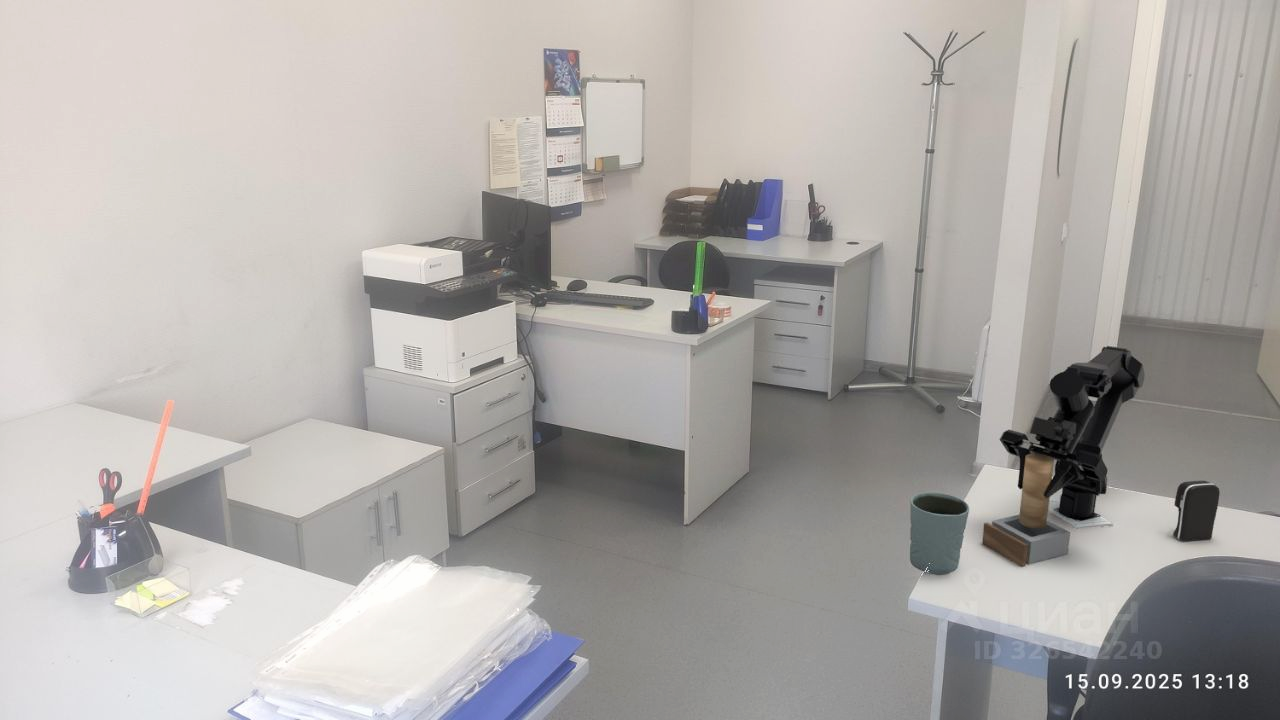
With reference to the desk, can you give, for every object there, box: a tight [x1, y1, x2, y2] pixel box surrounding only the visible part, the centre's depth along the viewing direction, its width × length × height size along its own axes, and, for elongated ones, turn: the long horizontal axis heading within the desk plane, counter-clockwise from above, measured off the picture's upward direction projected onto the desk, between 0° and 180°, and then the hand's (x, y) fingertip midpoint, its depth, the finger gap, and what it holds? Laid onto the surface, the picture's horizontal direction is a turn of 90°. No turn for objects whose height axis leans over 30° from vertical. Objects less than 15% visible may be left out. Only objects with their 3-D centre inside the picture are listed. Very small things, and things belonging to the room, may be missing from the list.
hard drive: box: [1048, 499, 1114, 530], centre depth 183 cm, size 2×8×12 cm
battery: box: [1173, 480, 1221, 542], centre depth 172 cm, size 7×4×11 cm, turn 98°
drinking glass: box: [909, 492, 970, 575], centre depth 163 cm, size 10×10×12 cm
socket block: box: [991, 513, 1071, 565], centre depth 168 cm, size 10×10×4 cm
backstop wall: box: [981, 522, 1028, 568], centre depth 166 cm, size 1×10×4 cm, turn 23°
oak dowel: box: [1018, 454, 1055, 528], centre depth 166 cm, size 5×5×13 cm
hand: (1032, 492), depth 165 cm, fingers closed on oak dowel, 5 cm apart
